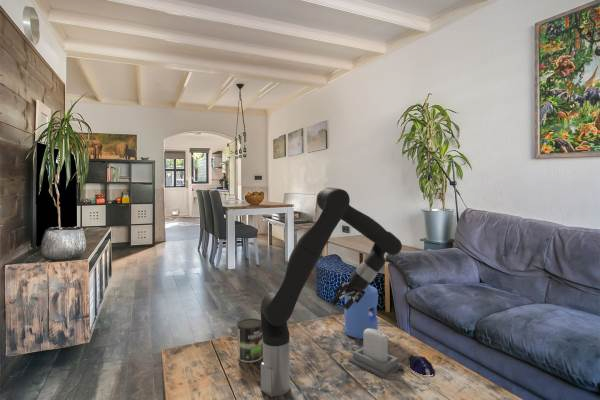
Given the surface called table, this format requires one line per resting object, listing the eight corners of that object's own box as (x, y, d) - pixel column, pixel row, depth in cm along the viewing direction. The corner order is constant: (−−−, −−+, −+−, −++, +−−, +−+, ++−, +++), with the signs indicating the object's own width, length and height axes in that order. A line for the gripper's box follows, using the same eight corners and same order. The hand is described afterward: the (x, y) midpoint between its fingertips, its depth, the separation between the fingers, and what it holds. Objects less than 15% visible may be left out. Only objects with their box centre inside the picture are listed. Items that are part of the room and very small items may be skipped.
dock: (384, 378, 130) (384, 369, 129) (348, 361, 142) (348, 352, 142) (402, 367, 138) (402, 358, 137) (366, 351, 150) (367, 343, 150)
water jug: (346, 339, 161) (346, 278, 160) (343, 325, 177) (343, 270, 175) (380, 340, 161) (381, 279, 159) (374, 325, 176) (375, 270, 175)
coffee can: (267, 357, 145) (267, 323, 145) (246, 365, 139) (245, 330, 138) (254, 348, 153) (254, 316, 153) (233, 355, 147) (232, 322, 146)
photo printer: (361, 357, 142) (361, 327, 141) (368, 354, 145) (368, 324, 144) (382, 368, 134) (382, 336, 134) (389, 364, 137) (389, 333, 136)
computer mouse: (416, 379, 130) (416, 368, 129) (399, 359, 144) (399, 349, 144) (440, 377, 131) (440, 366, 131) (421, 357, 146) (421, 348, 145)
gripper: (367, 273, 149) (344, 303, 151) (348, 264, 140) (323, 296, 142) (379, 285, 143) (354, 315, 145) (359, 277, 134) (333, 309, 136)
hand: (339, 306), depth 144 cm, fingers open, 8 cm apart
